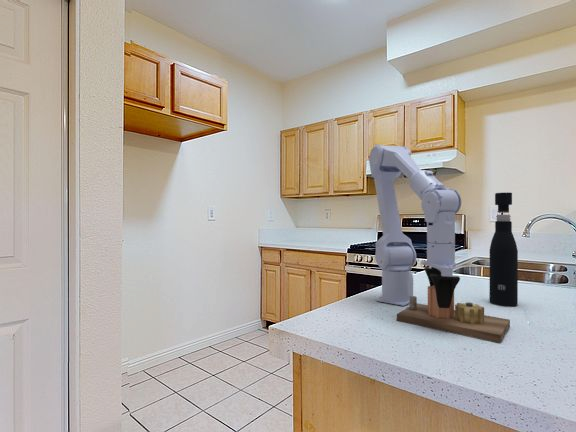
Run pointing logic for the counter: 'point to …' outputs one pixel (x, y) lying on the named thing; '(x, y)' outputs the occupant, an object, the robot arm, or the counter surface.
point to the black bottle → (503, 257)
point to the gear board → (458, 320)
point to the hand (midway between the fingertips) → (440, 302)
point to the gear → (433, 304)
